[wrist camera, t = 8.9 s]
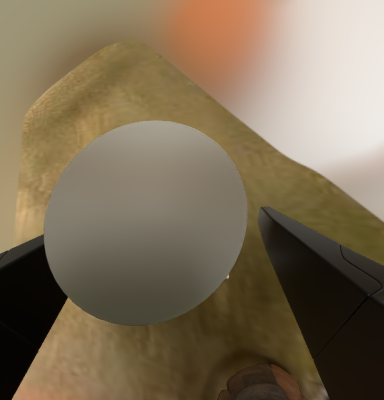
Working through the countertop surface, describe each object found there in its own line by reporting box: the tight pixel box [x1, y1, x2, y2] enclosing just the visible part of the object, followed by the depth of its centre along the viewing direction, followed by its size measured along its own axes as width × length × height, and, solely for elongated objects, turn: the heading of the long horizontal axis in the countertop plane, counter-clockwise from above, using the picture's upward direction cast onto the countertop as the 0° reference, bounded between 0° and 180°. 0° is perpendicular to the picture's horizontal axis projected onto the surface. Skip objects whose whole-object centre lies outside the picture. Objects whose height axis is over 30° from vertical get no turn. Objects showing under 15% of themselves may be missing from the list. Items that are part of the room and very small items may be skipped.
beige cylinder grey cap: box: [44, 121, 247, 326], centre depth 10 cm, size 4×4×14 cm
